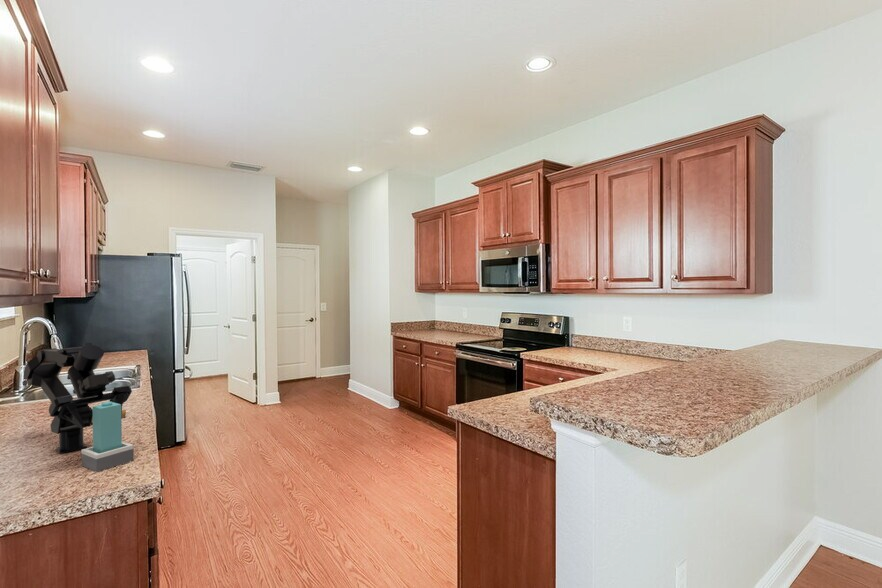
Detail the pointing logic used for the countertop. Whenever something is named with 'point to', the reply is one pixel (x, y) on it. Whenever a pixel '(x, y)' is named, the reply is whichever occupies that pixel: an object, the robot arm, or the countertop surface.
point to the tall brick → (107, 427)
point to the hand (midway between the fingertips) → (102, 423)
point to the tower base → (107, 457)
